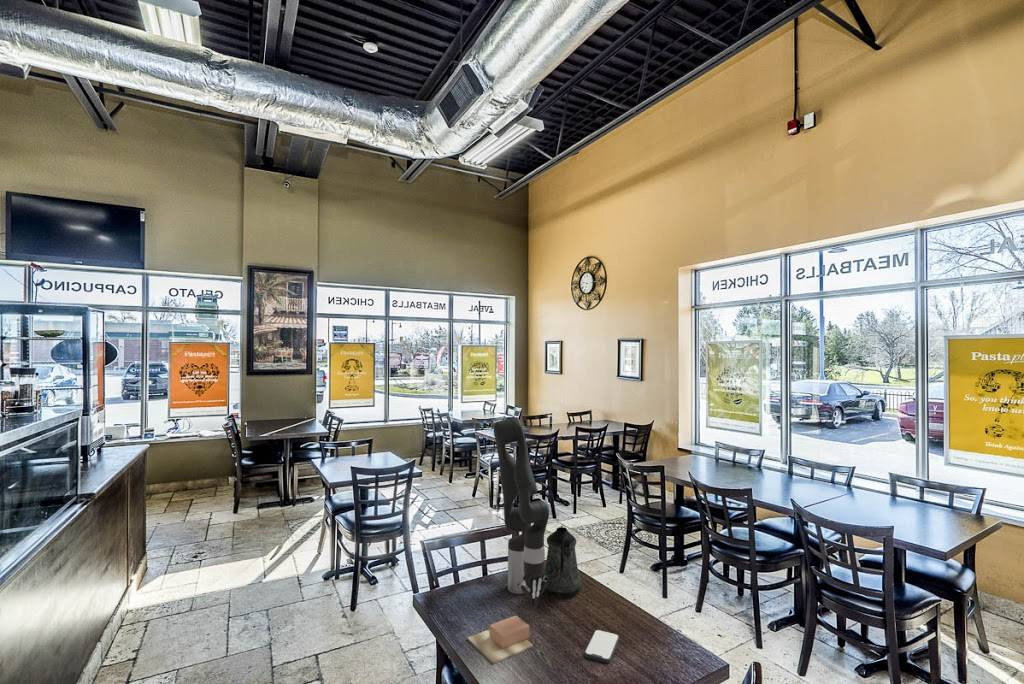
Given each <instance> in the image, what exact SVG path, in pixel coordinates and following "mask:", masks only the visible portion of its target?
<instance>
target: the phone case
mask: <svg viewBox="0 0 1024 684" xmlns="http://www.w3.org/2000/svg"><path fill="white" fill-rule="evenodd" d="M619 641H620V635H619V634H617V633H612V632H609V631H605V630H601V629H596V630H595V629H594V632H593V634H592V636H591V637H590V640H589V642H588V643H587V645H586V648H585V649H584V652H583V655H584V657H585V658H586V659H589V660H593V661H597V662H600V663H604V664H610V663H611V662H612V659H613V657H614V655H615V651H616V649H617V646H618V644H619Z"/></svg>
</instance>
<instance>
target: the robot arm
mask: <svg viewBox="0 0 1024 684" xmlns="http://www.w3.org/2000/svg"><path fill="white" fill-rule="evenodd" d="M493 435H494V440H495V445H496V446H495V447H496V451H497V455H498V456H497V458H498V464H499V478H500V485H501V491H502V498H503V517H504V518H503V519H504V526H505V528H506V529H507V530H509V531H513V532H521V534H519V535H515V536H512V537H511V538H509V539H508V542H507V546H508V547H507V590H508V591H509V592H510V593H511V594H515V595H522V594H524V596H526V597H527V598H528V599H529V607H531V608H532V609H536V608H538V605H539V596H540V595H542V594H543V593H545V591H544V590H545V588H546V586H547V584H548V582H549V580H550V578H548V577H547V576H545V574H544V571H545V566H546V560H545V559H546V555H545V554H546V553H545V532H546V529H547V525H548V521H549V517H550V509H549V505H548V504H547V502H546V501H544V500H536V501H531V497H532V496H534V495H536V494H537V492H538V487H537V486H538V485H537V483H536V479H535V477H534V473H533V470H532V467H531V462H530V455H529V451H528V445H527V441H526V435H525V430H524V427H523V424H522V422H521V420H520V419H519V418H518V417H512V418H507V419H504V420H503V419H502V420H500V421H496V422H495V423H494V424H493ZM513 443H517V447H518V452H517V457H516V459H515V458H514V457H513V456H512V455H511V454H510V453H509V451H508V450H507V448H506V445H510V444H513ZM517 496H518V505H519V506H518V507H514V501H515V500H516V498H517Z"/></svg>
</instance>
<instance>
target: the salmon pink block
mask: <svg viewBox="0 0 1024 684" xmlns="http://www.w3.org/2000/svg"><path fill="white" fill-rule="evenodd" d="M489 629H490V638H491V639H493V640H494V641H495V642H496V643H497V644H498V645H499V646H500V647H501V648H502V649H503V648H505V647H508V646H510V645H513V644H515V643H517V642H520V641H522V640H525V639H526V640H528V639H530V625H528V623H526V622H525V621H524V620H522V619H521V618H520V617H519V616H517V615H513V616H510V617H508V618H504V619H502V620H500V621H497V622H494V623H491V624H490V625H489Z"/></svg>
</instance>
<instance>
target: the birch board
mask: <svg viewBox="0 0 1024 684" xmlns="http://www.w3.org/2000/svg"><path fill="white" fill-rule="evenodd" d="M467 640H468V641H469V642H470V643H471V644H472V645H473V646H474V647H475V648H476V649H477V650H478V651H479V652H480V653H481V654H482V655H483V656H484V657H485V658H486V659H487V660H488V661H489V662H490V663H491V664H492V665H494V664H497V663H500V662H501V661H503V660H507V659H508V658H510V657H514V656H515V655H518V654H520V653H523V652H525V651H527V650H529V649H531V648H534V645H533V643H532V642H530V641H529V640H528V639H525V640H522V641H520V642H517V643H515V644H513V645H510V646H508V647H505V648H503V649H502V648H501V647H500V646H499V645H498V644H497V643H496V642H495V641H494V640H493V639H491V638H490V628H489V629H487V630H484V631H482V632H479V633H476V634H474V635H471V636H468V637H467Z"/></svg>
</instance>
